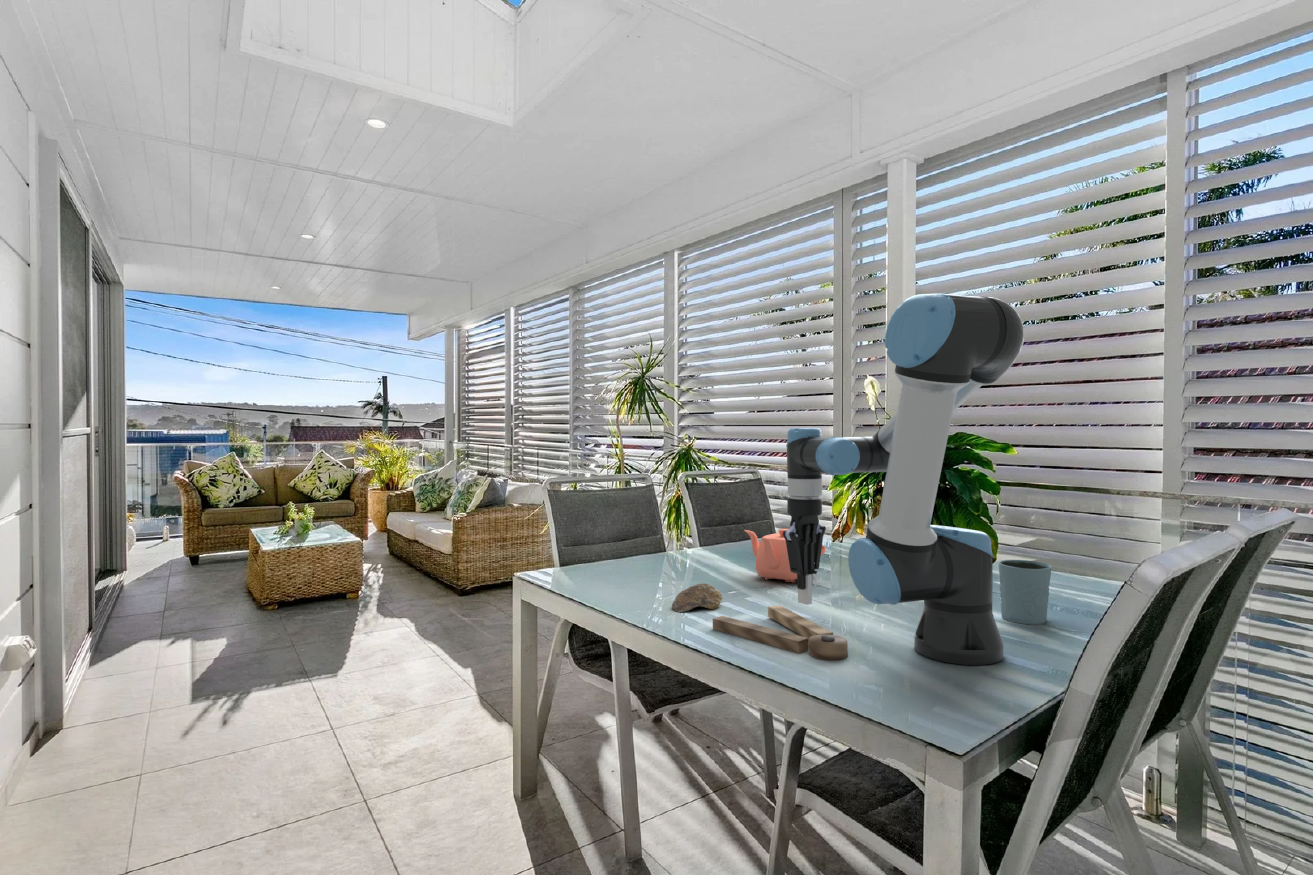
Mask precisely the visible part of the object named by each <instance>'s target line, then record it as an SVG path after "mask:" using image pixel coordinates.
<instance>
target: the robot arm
mask: <svg viewBox="0 0 1313 875" xmlns="http://www.w3.org/2000/svg"><path fill="white" fill-rule="evenodd" d="M1024 328H1025V327H1024V324H1023V320H1022V318H1021V317H1020V314H1019V313H1018V311H1017V310H1016V309H1015V308H1014V307H1013V306H1011V304H1009V303H1008V302H1006V301H1004V300H1002V299H999V298H996V297H992V296H970V295H960V294H947V293H946V294H945V293H941V292H939V293H921V294H919V293H918V294H916V295H912V296H909V297H908V298H906V300H905V299H904V301H903V302H902V303H901V304H900V305H898V306H897V308H896V309H895V310H894V312H893V313H892V315H891V317H890V319H889V321H888V324H887V327H886V331H885V335H884V336H885V337H884V346H885V348H886V349H887V350H886V354H887V356H888V358H889V360H890V361H891V362H892V363H893V364H895V369H894V375H895V377H897V379H898V380H899V381H900V383H901V388H900V389H901V390H900V394H899V399H898V406H897V411H896V412H895V413H894V414H893V415H892V417H890V418H889V419H888V421H886V422H885V424H883V425H882V427H881V428H880V429H879V430H878V431H876V432H875V434H874V435H871V436H853V437H852V436H842V437H841V436H840V437H839V436H838V437H836V436H830V437H828V436H827V437H825V436H824V437H823V435H822V430H821V428H818V427H791V428H790V429H788V431H787V441H786V470H787V471H786V473H787V496H788V499H786V500H787V506H786V507H787V509H786V511H787V514H788V515H789V516H791V518H790V523H789V528H788V529H789V530H788V531H783V536H784V538H785V541H786V546H787V552H788V559H789V565H790V571H791V572H793V573H795V574H797V579H796V581H797V582H796V583H797V586H796V588H797V603H799V604H803V605H806V606H807V605H808V606H809V605H812V604H813V579H814V578H813V575H817V574H818V570H819V569H820V563H821V562H820V561H821V556H822V555H821V549H822V545H823V541H824V535H825V532H826V530H827V528H826V526H825V525H821V524H820V520H819V516H821V515H822V514H823V500H822V498H820V497H822V496H823V477H822V476H823V474H828V475H830V476H831V475H832V476H837V475H839V476H844V475H848V474H852V473H853V474H855V473H856V474H857V473H881V472H883V473H884V472H885V473H886V474H885V478H884V483H883V484H884V485H883V491H882V496H881V502H880V505H879V506H880V507H879V512H878V515H877V516H875V517H874V518H872V519H870V520H869V522H868V523H867V528H866V529H867V530H866V533H865V534H866V535H865V537H860V538H858V539H857V540H856V539H855V541H854V542H852V543H851V545H850V548H849V550H848V556H847V557H848V560H847V562H848V569H849V572H850V577H851V578H852V581H853V585H854V586H855V587H856V590H858V593H859V594H860V595H861V596H862V597H863V598H864V599H865V600H867V601H868V602H869V603H871V604H874V605H892V606H893V605H897V604H902V603H911V602H919V601H923V610H922V612H921V616H920V618H919V621H918V625H917V627H916V630H915V634H914V644H913V646H914V649H915V651H916V652H917V653H918V654H920V655H922V656H924V657H927V658H929V659H933V660H936V661H939V662H944V663H949V664H954V665H967V666H983V665H992V664H996V663H999V662H1001V661H1002V660H1003V659H1004V657H1005V656H1004V654H1005V653H1004V642H1003V639H1002V637H1001V634H1000V632H999V631H1000V630H999V628H998V626H997V623H996V620H995V617H994V614H993V558H994V554H993V549H992V540H991V537H990V536H989V535H988V534H987V533H986V532H983V531H981V530H975V529H968V528H964V527H963V528H962V527H955V526H954V527H953V526H946V525H936V524H931V523H932V518H933V512H934V507H935V504H936V498H937V493H938V489H939V488H938V487H939V484H940V478H941V472H942V468H943V463H944V459H945V454H946V449H947V443H948V438H949V434H950V430H951V429H950V428H951V422H952V420H953V419H952V418H953V415H954V414H953V413H954V412H955V411H956V410H957V409H958V408H959V407H961V405H963V404H964V403H965V402H966V400H968V399H969V398H971V396H972V395H973V394H974V393H976V392H977V391H978V389H980V388H981V387H982V386H988V385H992V384H994V383H995V382H996V381H998V380H999V378H1001V377H1002V376H1003V375H1004V374H1005V373H1006V372H1007V371H1008V370H1009V369H1010V367H1011V366H1013V364H1014V363H1015V361H1016V360H1017V358H1018V357H1019V356H1020V353H1021V350H1022V348H1023V346H1024V342H1025V329H1024Z"/></svg>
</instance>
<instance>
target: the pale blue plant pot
mask: <svg viewBox="0 0 1313 875" xmlns="http://www.w3.org/2000/svg"><path fill="white" fill-rule="evenodd" d="M998 573H999V575H998V576H999V584H1000V586H999V592H1000V593H999V594H1000V595H999V596H1000V601H1001V603H1000V611H1001V618H1002V619H1004V620H1006V621H1008V622H1011V623H1015V624H1016V623H1017V624H1021V625H1022V624H1023V625H1041V624H1045V623H1046V622H1047V617H1048V606H1049V605H1048V604H1049V597H1050V584H1051V583H1050V582H1051V576H1052V566H1051V564H1048V563H1045V562H1040V561H1036V560H1035V561H1034V560H1026V559H1025V560H1024V559H1003V560H999V561H998Z"/></svg>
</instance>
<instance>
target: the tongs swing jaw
mask: <svg viewBox="0 0 1313 875" xmlns="http://www.w3.org/2000/svg"><path fill="white" fill-rule="evenodd" d="M767 617H768V618H769V619H772V620H773V621H775V622H777V623H778V624H781V625H782V626H783V627H786V628H787V629H790V631H793V632H794V633H796V634H797V635H799V636H802V637H806V638H808V641H809V637H811V636H814V635H821V634H827V635H834V632H832V631H830V630H829V629H826V628H824V627H823V626H821V625H819V624H817V623H815V622H813V621H811V620H809V619H807V618H806V617H803V616H801V615H800V614H798V613H796V612H794V611H792V610H790V609H788V608H786V607H784V606H782V605H781V604H780V605H771V606H767Z"/></svg>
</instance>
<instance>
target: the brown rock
mask: <svg viewBox="0 0 1313 875" xmlns="http://www.w3.org/2000/svg"><path fill="white" fill-rule="evenodd" d="M723 597H724V596H723V593H722V592H721V591H720V590H718V589H717V588H716V587H715V586H713V585H712V584H709V583H704V582H701V583H698V584H693V585H692V586H689V587H688V588H686V589H684V590H682V591H680V592H679V593H678V594H677V595H676V597H675V599H674V601H672V604H671V606H672V607H671V608H672V610H673V611H674V612H675V613H683V612H688V611H690V610H693V609H694V608H697V607H701V608H702V607H703V608H706V609H709V610H715V609H717V608H718V607H719V606H720V604H721V603H722V600H723Z"/></svg>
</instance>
